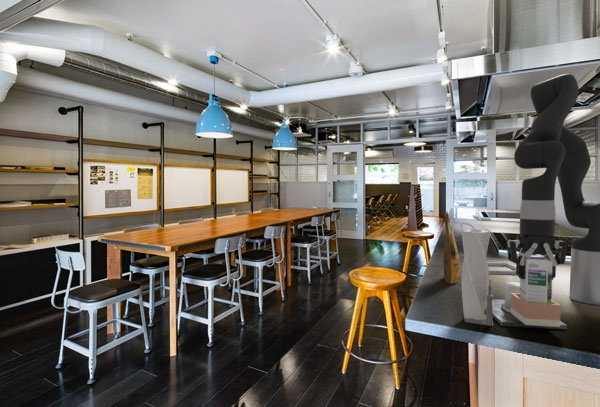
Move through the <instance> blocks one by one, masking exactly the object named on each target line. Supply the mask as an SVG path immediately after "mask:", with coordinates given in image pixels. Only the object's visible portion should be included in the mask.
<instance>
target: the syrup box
mask: <svg viewBox="0 0 600 407" xmlns="http://www.w3.org/2000/svg"><path fill="white" fill-rule="evenodd" d="M524 266H525V279H520V278H519V283H520V298H521V299H523V300H524V301H526V302H527V303H543V304H551V300H552V298H553V297H552V293H553V289H552V287H553V280H552V260H550V259H548V258H545V257H543V256H537V255H531V257H530V258H529V259H527V258H526V263H525V264H524Z"/></svg>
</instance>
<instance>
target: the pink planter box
mask: <svg viewBox="0 0 600 407" xmlns="http://www.w3.org/2000/svg"><path fill="white" fill-rule="evenodd" d="M504 292H505V293H504V296H505V297H504V300H505V306H506V307H508V308H510V309H511V314H513V315H514V316H515V317H516V318H518V319H519V320H520V321H521V322H523V323H524V324H525V325H536V326H554V327H560V321H561V313H562V312H561V308H562V306H561V304H560V303H558V302H556V301H554V300H553V299H551V304H543V303H527V302H526V301H524V300H523V299H521V298H520V282H516V281H508V282H505V291H504Z"/></svg>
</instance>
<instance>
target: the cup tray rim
mask: <svg viewBox="0 0 600 407" xmlns="http://www.w3.org/2000/svg"><path fill="white" fill-rule="evenodd" d="M487 263H488V267H506V268H507V267H508V268H509V269H511V270H504V269H501V270H500V269H488V270H489V275H509V276H510V275H512V276H513V275H514V276H515V275H516V265H514V264H513V263H512V264H511V263H509V262H495V261H493V262H489V261H487ZM516 276H517V275H516Z"/></svg>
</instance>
